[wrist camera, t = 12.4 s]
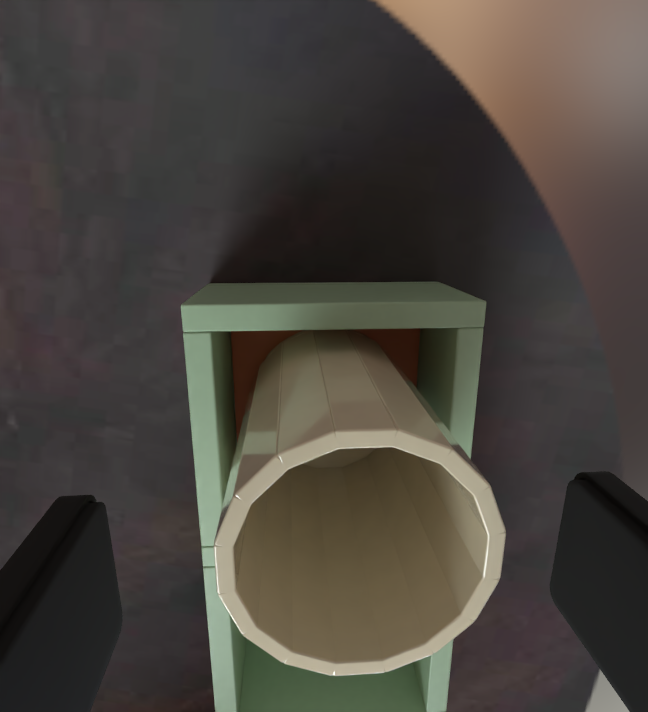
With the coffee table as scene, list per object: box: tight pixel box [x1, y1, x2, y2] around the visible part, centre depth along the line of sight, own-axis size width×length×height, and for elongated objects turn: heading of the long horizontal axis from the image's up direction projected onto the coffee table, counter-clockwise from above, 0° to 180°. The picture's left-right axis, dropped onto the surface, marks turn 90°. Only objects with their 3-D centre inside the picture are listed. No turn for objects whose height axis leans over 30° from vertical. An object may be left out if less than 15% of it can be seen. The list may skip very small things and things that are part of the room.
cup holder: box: [181, 282, 486, 712], centre depth 18 cm, size 17×9×5 cm, turn 0°
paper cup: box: [214, 329, 506, 676], centre depth 14 cm, size 6×6×9 cm
